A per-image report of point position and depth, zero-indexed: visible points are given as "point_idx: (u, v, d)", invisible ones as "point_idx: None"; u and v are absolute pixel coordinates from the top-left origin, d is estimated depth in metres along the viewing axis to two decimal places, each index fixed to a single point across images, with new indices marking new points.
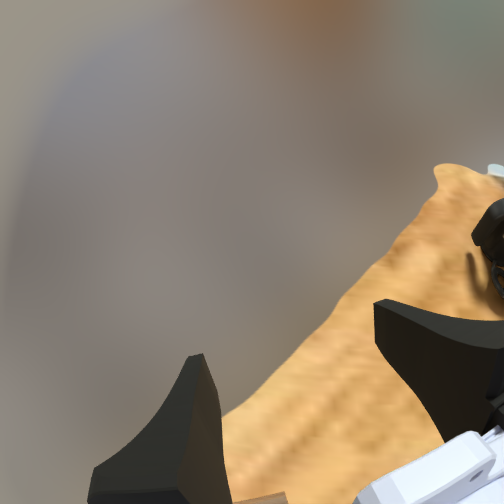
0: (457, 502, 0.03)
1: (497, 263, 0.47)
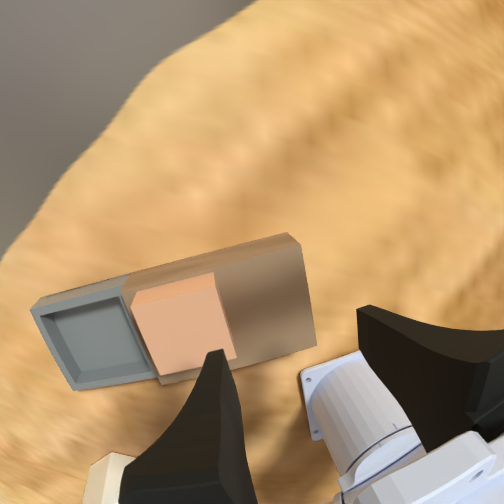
0: (457, 502, 0.03)
1: None
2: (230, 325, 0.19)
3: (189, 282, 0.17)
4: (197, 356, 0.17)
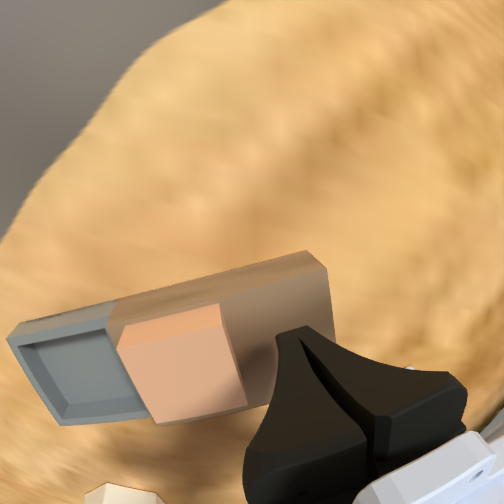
0: (457, 502, 0.03)
1: None
2: (239, 364, 0.15)
3: (190, 317, 0.13)
4: (200, 404, 0.13)
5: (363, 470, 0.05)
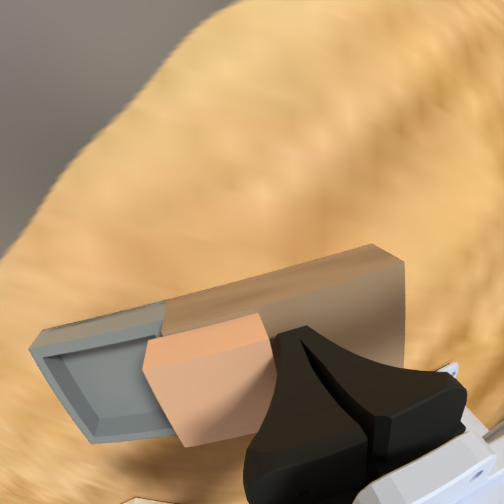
0: (457, 502, 0.03)
1: None
2: None
3: (226, 330, 0.12)
4: (237, 425, 0.12)
5: (364, 470, 0.05)
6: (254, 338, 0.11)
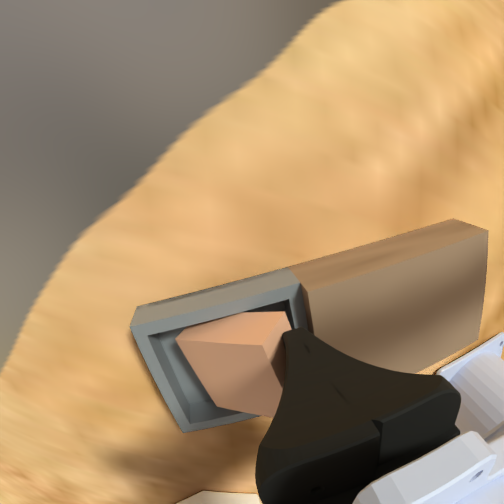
0: (457, 502, 0.03)
1: None
2: (420, 325, 0.14)
3: (248, 322, 0.13)
4: (252, 405, 0.13)
5: (375, 465, 0.05)
6: (255, 339, 0.11)
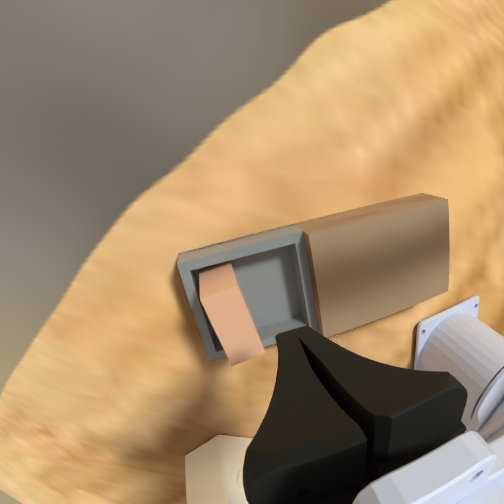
0: (457, 502, 0.03)
1: None
2: (395, 270, 0.20)
3: (222, 279, 0.17)
4: None
5: (363, 470, 0.05)
6: (205, 293, 0.16)
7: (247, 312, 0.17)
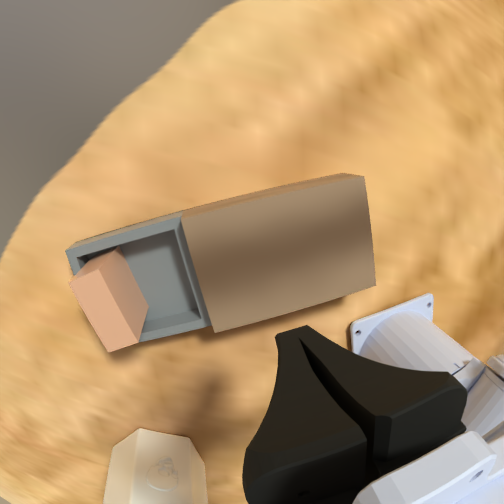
0: (457, 502, 0.03)
1: None
2: (295, 259, 0.18)
3: (95, 265, 0.16)
4: None
5: (363, 470, 0.05)
6: (75, 277, 0.15)
7: (112, 298, 0.15)
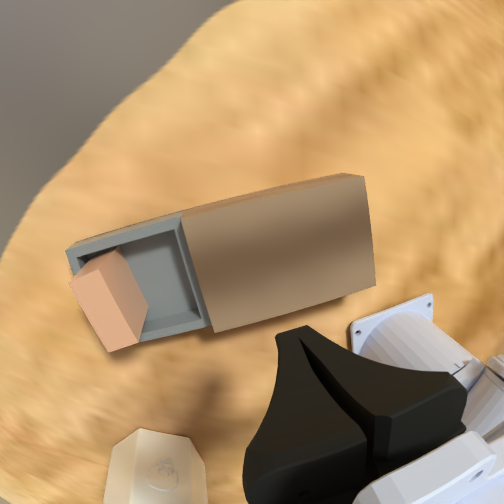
0: (457, 502, 0.03)
1: None
2: (295, 259, 0.18)
3: (95, 265, 0.16)
4: None
5: (363, 470, 0.05)
6: (75, 277, 0.15)
7: (112, 298, 0.15)
